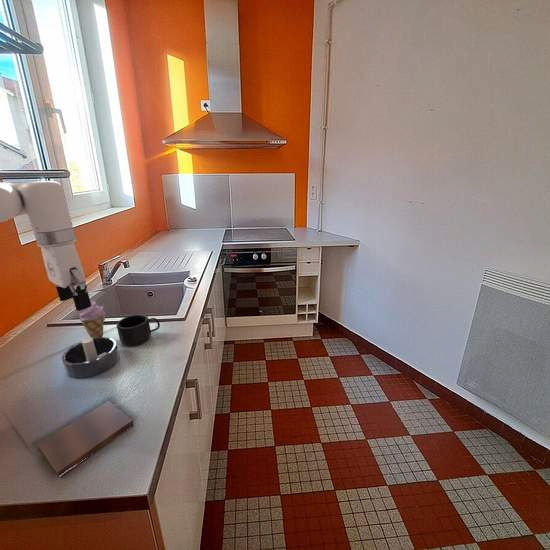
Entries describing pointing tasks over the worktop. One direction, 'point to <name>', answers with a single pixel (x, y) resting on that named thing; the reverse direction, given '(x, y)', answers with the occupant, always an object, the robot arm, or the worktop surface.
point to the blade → (90, 349)
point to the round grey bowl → (81, 369)
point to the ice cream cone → (93, 319)
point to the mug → (135, 329)
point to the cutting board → (84, 437)
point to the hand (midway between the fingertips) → (75, 303)
